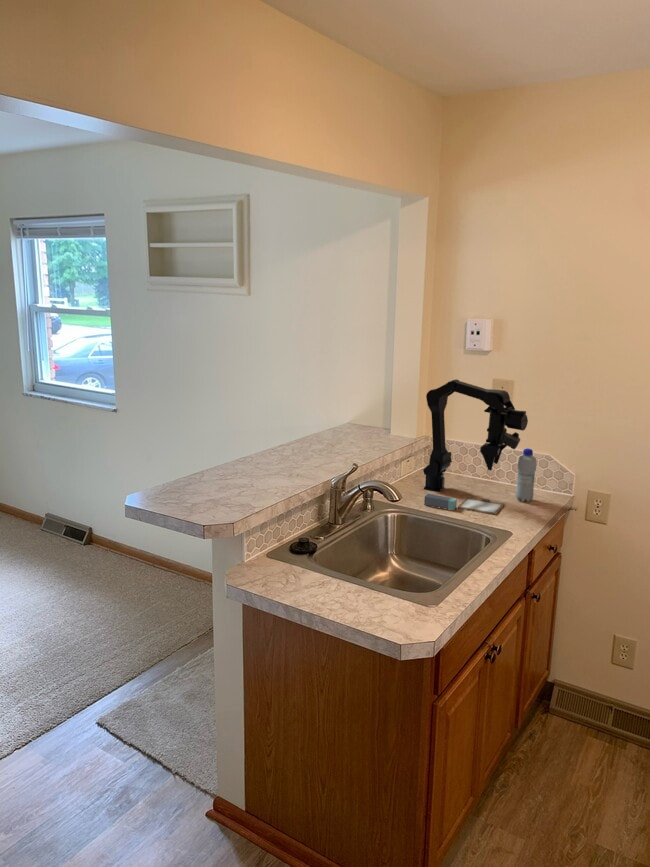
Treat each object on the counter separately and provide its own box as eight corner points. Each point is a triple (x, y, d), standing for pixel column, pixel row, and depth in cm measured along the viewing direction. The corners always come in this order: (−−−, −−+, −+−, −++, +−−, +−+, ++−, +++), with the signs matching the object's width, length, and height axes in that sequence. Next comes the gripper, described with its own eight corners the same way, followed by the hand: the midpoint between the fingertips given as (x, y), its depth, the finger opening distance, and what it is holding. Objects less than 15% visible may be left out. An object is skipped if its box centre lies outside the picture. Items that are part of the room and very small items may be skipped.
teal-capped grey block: (424, 505, 243) (424, 496, 243) (427, 502, 246) (427, 493, 246) (453, 510, 238) (453, 501, 237) (456, 507, 241) (456, 498, 240)
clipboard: (457, 508, 241) (457, 505, 241) (467, 498, 251) (467, 495, 251) (496, 515, 234) (496, 512, 234) (504, 505, 245) (504, 502, 244)
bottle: (512, 501, 248) (517, 449, 244) (516, 496, 254) (521, 445, 249) (531, 504, 245) (536, 452, 241) (534, 499, 251) (539, 447, 246)
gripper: (513, 434, 229) (509, 477, 233) (524, 423, 245) (520, 463, 249) (481, 429, 234) (477, 472, 238) (494, 419, 250) (490, 459, 254)
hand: (492, 466), depth 244 cm, fingers open, 9 cm apart
